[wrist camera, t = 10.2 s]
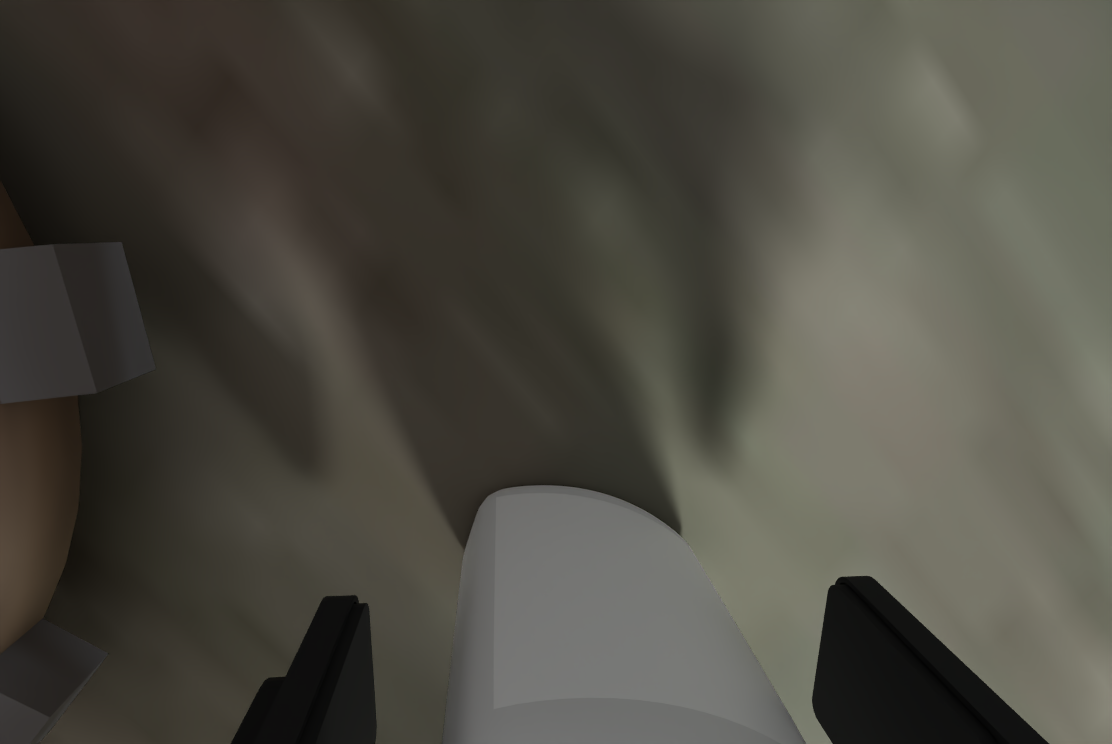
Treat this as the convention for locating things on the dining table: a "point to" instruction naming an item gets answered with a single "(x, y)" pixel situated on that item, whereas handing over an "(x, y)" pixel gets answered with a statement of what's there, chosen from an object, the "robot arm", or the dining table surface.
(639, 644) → the eye dropper bottle
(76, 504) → the sprocket
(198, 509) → the dining table surface
